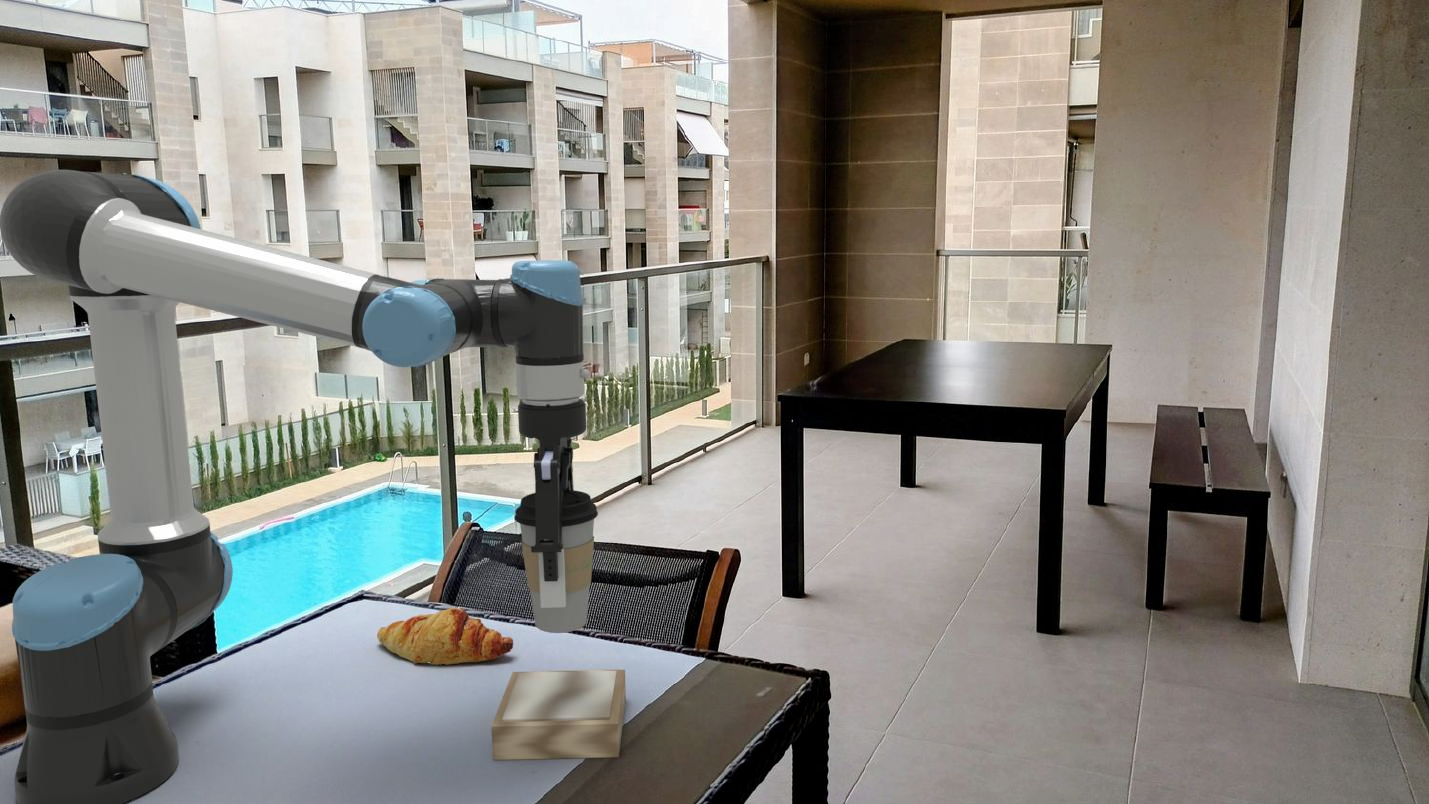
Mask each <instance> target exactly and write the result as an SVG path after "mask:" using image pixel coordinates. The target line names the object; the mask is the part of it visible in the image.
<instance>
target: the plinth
mask: <svg viewBox="0 0 1429 804" xmlns="http://www.w3.org/2000/svg"><path fill="white" fill-rule="evenodd" d="M626 691H627V690H626V669H590V670H589V669H587V670H585V669H584V670H581V669H579V670H540V671H539V670H537V671H536V670H535V671H512V672H511V675H510V677H509V680H508V682H507V686H506V688H505V690H504V693H503V696H502V698H501V701H500V704H499V706H498V709H497V711H496V714H495V717H494V719H493V722H492V724H491V742H492V743H491V745H492V746H491V747H492V760H494V761H500V760H503V761H505V760H545V759H546V760H547V759H549V760H550V759H551V760H552V759H590V758H591V759H592V758H595V759H597V758H599V759H600V758H619V757H620V749H621V743H622V742H621V741H622V740H621V739H622V734H623V725H624V717H625V709H626V700H627V697H626V696H627V693H626Z"/></svg>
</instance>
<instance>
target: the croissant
mask: <svg viewBox="0 0 1429 804" xmlns="http://www.w3.org/2000/svg"><path fill="white" fill-rule="evenodd" d="M376 637H377V640H378V642H379V643H380V644H381V645H383V646H384V647H385V648H387V650H388V651H389V652H391V653H393V654H396V655H397V656H399V657H401V658H403V659H406V660H408V661H410V662H412V663H413V664H419V663H420V664H428V663H427V662H430V663H431V664H430V665H433V664H437V665H436V666H442V665H441V664H445V665H444V666H447V665H454V664H461V663H481V662H487V661H490V660H496V659H498V658H500V657H502V656H504V655H505V654H508V653H510V652H511V651H512V650H513V648H514V639H513V638H511V636H507V637H504V636H502V633H501V632H499V631H498V630H495V629H492V628H489V627H487V626H485V625H484V623H482V620H481V619H480V618H476V617H475V618H474V617H469V614H468V611H466V610H464V609H463V608H458V607H450V608H448V609H444V610H443V609H442V610H439V611H437V612H435V613H434V614H432V613H428V614H420V615H415V616H412V617H410V618H408V619H406V620H399V621H395V622H392V623H390V624H389V625H387V626H382V627H380V628H379V630H378V631H377V636H376ZM438 664H440V665H438Z"/></svg>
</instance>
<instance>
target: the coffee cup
mask: <svg viewBox="0 0 1429 804" xmlns="http://www.w3.org/2000/svg"><path fill="white" fill-rule="evenodd" d="M598 515H599V511H598V510H597V505H596V504H595V503H594V502H592V498H591V496H590V494H588V493H587V492H584V491H580V490H569V491H565V492H564V493H563V507H562V544H563V549H564V562H565V589H566V607H558V608H541V601H540V577H539V554H538V553H532V552H531V546H535V544H536V540H535V492H532V493H529V494H526V495H524V496H523V497H522V498H521V499H520V505H519V506H518V507H517V508H516V509H515V516H514V517H513V518H514V521H515V522H516V523H519V526H520V527H519V528H520V532H521V541H520V542H521V548H522V555H523V562H524V569H525V575H526V583H527V587H528V589H529V593H530V599H531V606H532V611H533V618H534V625H535V627H536V628H537V629H538V630H540V631H542V632H545V633H550V634H565V633H570V632H573V631H577V630H579V629H581V628H583V627H584V626H585V625H586V624H587V622H588V612H589V611H588V609H589V599H590V598H589V597H590V585H591V582H592V574H593V573H592V572H593V558H594V545H595V543H594V542H595V536H594V527H595V526H594V524H595V518H597V517H598ZM549 540H551V539H544V541H549Z"/></svg>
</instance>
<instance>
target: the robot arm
mask: <svg viewBox="0 0 1429 804" xmlns="http://www.w3.org/2000/svg"><path fill="white" fill-rule="evenodd" d="M1 207H2V208H1V210H0V234H1V239H2V241H3V243H4V246H5V247H6V249H7V250H8V252H9V254H10V255H11V257H12V259H14V260H15V262H17V263H18V265H19V266H21V267H22V268H23V269H24V270H26V271H27V272H29V273H30V274H33V275H34V276H35V277H38V278H40V279H43V280H45V281H48V282H52V283H55V284H60V285H61V284H62V285H64V286H65V285H66V286H68V292H69V298H70V300H71V301H73V302H74V303H75V304H77V305H78V306H80V307H81V308H83V310H85V312H86V313H87V319H88V326H89V327H88V329H89V335H90V336H89V337H90V343H91V344H90V345H91V354H92V362H93V370H94V380H95V388H96V398H97V409H98V416H99V424H100V433H101V441H102V450H103V459H104V467H105V476H106V477H105V478H106V486H107V494H108V501H109V502H108V504H109V512H110V520H109V521H108V522H107V523H106V524H105V525H104V526H103V527H102V528H101V529H100V530H99V532H98V533H97V541H98V551H99V553H97V554H90V555H84V556H78V557H74V558H71V560H70V561H67V562H57V563H55V564H53V565H50V566H48V567H45V568H42V569H41V570H39V571H37V572H36V573H35V574H32V575H31V576H30V577H28V578H27V579H26V580H24V581H23V582H22V584H21V585H20V586H19V587H18V588H17V590H16V591H15V593H14V596H13V598H12V624H11V630H12V631H11V632H12V636H13V638H14V640H15V648H16V649H15V650H16V654H17V661H18V669H19V675H20V681H21V690H22V697H23V702H24V710H25V717H26V724H27V725H26V731H25V733H24V734H25V735H24V739H23V743H22V747H21V750H20V753H19V754H20V755H19V758H18V763H17V766H16V770H15V774H14V779H13V780H14V782H13V785H14V792H15V800H16V803H17V804H125V803H127V802H129V801H132V800H134V799H137V798H138V797H141V796H143V795H144V794H148V793H149V792H150V791H152V790H154V789H155V788H157V787H158V786H160V785H161V784H163V783H164V782H166V780H167V779H168V778H169V777H170V776H171V775H172V774H174V772H175V771H176V769H177V767H178V765H179V762H180V757H179V748H178V747H179V746H178V741H177V738H176V736H175V734H174V732H173V731H172V729H171V727H170V724H169V723H168V721H167V719H166V717H165V714H164V713H163V712H162V710H161V708H160V706H159V704H158V703H157V700H156V699H155V694H154V686H153V677H152V668H151V656H152V655H155V654H156V653H157V652H159V651H160V650H161V649H163V648H164V647H165V646H167V645H168V644H170V643H172V642H173V641H174V640H176V639H177V638H179V637H180V636H182V635H183V634H184V633H185V632H187V631H189V630H190V631H191V630H192V629H194V628H196V627H198V626H200V625H201V624H202V623H204V622H205V621H206V620H207V618H209V617H210V616H211V615H212V614H213V613H214V612H215V611H216V610H217V609H218V608H220V606H221V605H222V603H223V602H224V600H225V599H226V597H227V596H228V594H229V591H230V589H231V587H232V586H231V585H232V582H233V572H234V571H233V564H232V562H233V561H232V558H231V554H230V553H229V550H228V549H227V547H226V545H225V544H224V543H221V542H220V541H219V540H218V539H219V537H218V536H217V535H216V534H214V533H213V532H211V524H210V519H209V518H208V517H207V516H206V515H204V514H202V513H201V512H199V511H198V510H197V509H196V507H195V506H194V498H193V497H194V496H193V486H192V477H191V466H190V465H191V464H190V456H189V446H188V436H187V435H188V434H187V424H186V416H185V413H186V412H185V406H184V395H183V385H182V384H183V383H182V374H181V373H182V372H181V365H180V355H179V354H180V353H179V343H178V333H177V323H176V313H175V310H176V307H177V306H178V305H179V304H180V303H182V304H186V305H189V306H193V307H198V308H202V309H205V310H209V311H214V312H217V313H222V314H225V315H228V316H229V315H230V316H233V317H237V318H241V319H245V320H249V321H253V322H257V323H261V324H265V325H269V326H273V327H276V328H277V327H278V328H281V329H283V330H284V329H285V330H288V331H292V332H296V333H301V334H304V335H308V336H312V337H316V338H320V339H324V340H329V341H332V342H336V343H340V344H344V345H346V346H353V347H356V348H360V349H363V350H365V351H366V350H367V351H370V352H372V354H373V355H375V357H377V358H378V359H379V360H380V361H382V362H383V363H385V364H387V365H390V366H393V367H398V368H414V367H424V366H426V365H429V364H431V363H433V362H435V361H437V360H438V359H441V358H443V357H445V356H447V355H451V354H453V353H455V352H458V351H460V350H463V349H466V348H468V349H469V348H490V347H491V348H499V347H500V348H508V347H514V350H515V380H516V381H515V384H516V385H515V386H516V396H517V397H518V398H519V399H520V400H522V401H520V402H519V404H517V416H518V417H517V418H518V432H519V434H520V435H522V437H524V438H527V439H536V440H538V441H539V445H538V446H539V447H537V449H536V450H537V451H536V452H534V455H533V469H534V480H535V481H534V482H535V483H534V485H535V486H534V487H535V489H534V493H535V540H536V544H535V546H531V552H532V553H538V554H539V577H540V601H541V608H558V607H566V589H565V562H564V549H563V544H562V507H563V493H564V492H565V491H569V490H574V489H575V488H574V476H573V475H574V473H573V472H574V470H573V469H574V468H573V459H574V458H573V457H574V449H573V447H572V442H573V439H572V438H575V437H578V436H580V435H582V434H584V433H585V432H586V430H587V411H586V409H587V408H586V407H587V406H586V405H587V403H586V401H584V400H583V399H582V398H581V397H582V396H584V395H585V394H586V392H585V390H586V389H585V386H586V385H585V379H586V378H590V376H591V372H590V370H589V369H587V368H583V366H584V364H585V363H584V360H585V355H584V299H583V296H582V284H581V274H580V269H579V266H578V265H577V264H576V263H575V262H573V261H571V260H566V259H565V260H561V259H560V260H559V259H557V260H556V259H554V260H552V259H551V260H550V259H549V260H544V259H543V260H542V259H541V260H519V261H515V262H514V263H513V264H512V266H511V273H510V276H509V278H503V279H502V278H499V279H468V278H467V279H463V278H462V279H458V278H457V279H454V278H453V279H451V278H448V279H446V278H441V277H440V278H438V277H437V278H429V279H425V280H424V279H423V280H422V279H421V280H413V281H411V282H409V281H406V280H401V279H397V278H393V277H389V276H385V275H384V276H383V275H379V274H378V273H373V272H369V271H366V270H362V269H357V268H353V267H350V266H345V265H341V264H339V263H333V262H331V261H326V260H322V259H318V258H315V257H311V256H307V255H303V254H299V253H296V252H295V253H294V252H291V251H287V250H284V249H279V248H277V247H276V248H275V247H272V246H268V245H263V244H260V243H256V242H251V241H248V240H244V239H240V238H236V237H233V236H229V235H224V234H220V233H217V232H213V231H209V230H204V229H202V228H201V224H200V221H199V218H198V216H197V213H196V212H195V210H194V207H192V205H191V204H190V202H189V201H188V199H187V198H185V197H184V196H183V195H182V194H181V193H180V192H179V191H178V190H176V189H175V188H174V187H172V186H171V185H169V184H167V183H165V182H164V181H160V180H159V179H155V178H151V177H145V176H142V175H139V174H132V173H125V172H123V173H110V172H109V173H108V172H95V171H93V172H92V171H80V170H73V169H72V170H71V169H54V170H46V171H43V172H39V173H36V174H34V175H31V176H29V177H27V178H25V179H24V180H22V181H21V182H20V183H18V184H16V186H15V187H14V188H13V189H12V190H11V191H9V194H8V195H7V196H6V198H5V200H4V201H3V203H2V206H1ZM574 491H575V490H574ZM544 539H551V540H549V541H544Z"/></svg>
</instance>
